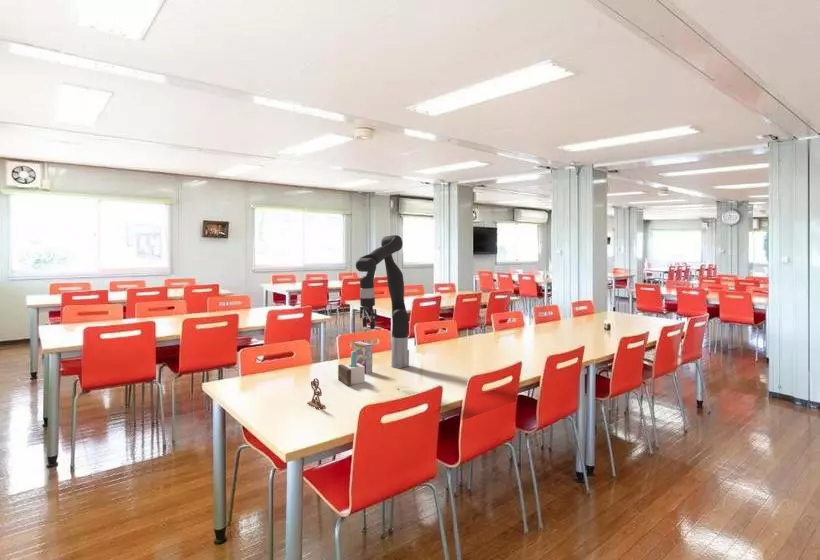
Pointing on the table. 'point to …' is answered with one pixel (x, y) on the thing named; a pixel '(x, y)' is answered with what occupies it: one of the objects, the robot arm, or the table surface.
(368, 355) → the candy bar box
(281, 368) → the table surface
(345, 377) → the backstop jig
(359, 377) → the socket block
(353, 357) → the teal dowel
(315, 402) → the brown carved figurine
